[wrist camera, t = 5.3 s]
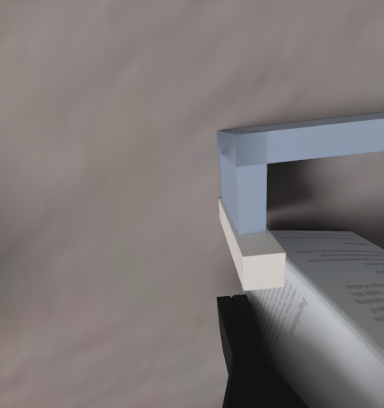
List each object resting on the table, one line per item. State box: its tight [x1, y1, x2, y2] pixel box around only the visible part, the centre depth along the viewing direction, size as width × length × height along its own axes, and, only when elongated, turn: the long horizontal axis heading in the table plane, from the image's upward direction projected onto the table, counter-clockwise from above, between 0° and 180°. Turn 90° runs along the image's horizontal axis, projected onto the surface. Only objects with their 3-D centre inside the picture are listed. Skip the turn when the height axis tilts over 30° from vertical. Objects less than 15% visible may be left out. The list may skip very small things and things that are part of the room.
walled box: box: [218, 112, 384, 291], centre depth 10 cm, size 18×13×5 cm
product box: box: [240, 230, 384, 408], centre depth 9 cm, size 6×6×7 cm
